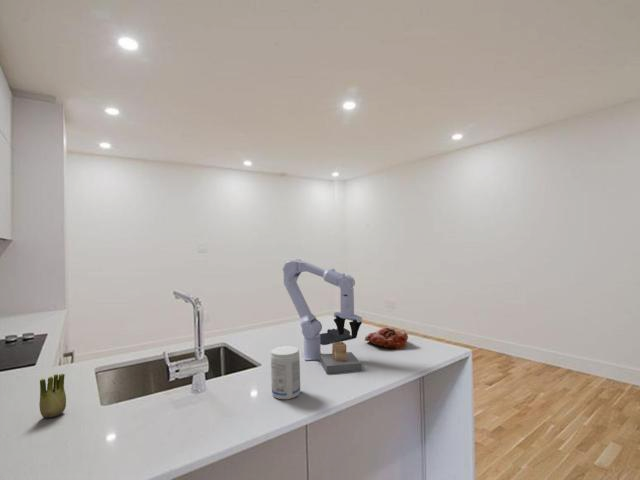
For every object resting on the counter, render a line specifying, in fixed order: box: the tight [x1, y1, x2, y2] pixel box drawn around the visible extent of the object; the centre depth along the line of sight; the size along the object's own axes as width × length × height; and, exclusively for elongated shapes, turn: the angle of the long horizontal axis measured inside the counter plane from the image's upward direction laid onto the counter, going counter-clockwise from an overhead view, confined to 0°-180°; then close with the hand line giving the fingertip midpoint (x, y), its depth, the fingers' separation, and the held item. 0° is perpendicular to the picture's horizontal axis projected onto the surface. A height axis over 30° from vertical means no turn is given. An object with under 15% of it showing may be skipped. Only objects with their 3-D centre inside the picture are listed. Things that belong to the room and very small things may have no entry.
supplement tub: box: [270, 345, 301, 400], centre depth 113 cm, size 10×10×15 cm
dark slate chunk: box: [320, 327, 353, 346], centre depth 179 cm, size 15×22×5 cm
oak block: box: [331, 341, 347, 361], centre depth 139 cm, size 4×4×6 cm
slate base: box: [319, 351, 362, 375], centre depth 139 cm, size 14×14×3 cm
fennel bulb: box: [39, 373, 67, 419], centre depth 101 cm, size 6×5×12 cm
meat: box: [364, 326, 409, 351], centre depth 167 cm, size 21×21×10 cm
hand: (347, 336), depth 145 cm, fingers open, 7 cm apart
